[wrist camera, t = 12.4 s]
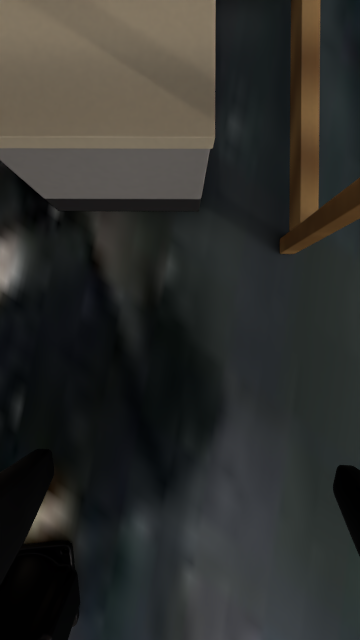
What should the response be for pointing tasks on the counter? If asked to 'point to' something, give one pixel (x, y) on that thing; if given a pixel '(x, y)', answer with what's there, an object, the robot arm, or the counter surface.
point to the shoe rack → (310, 141)
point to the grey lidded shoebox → (108, 101)
